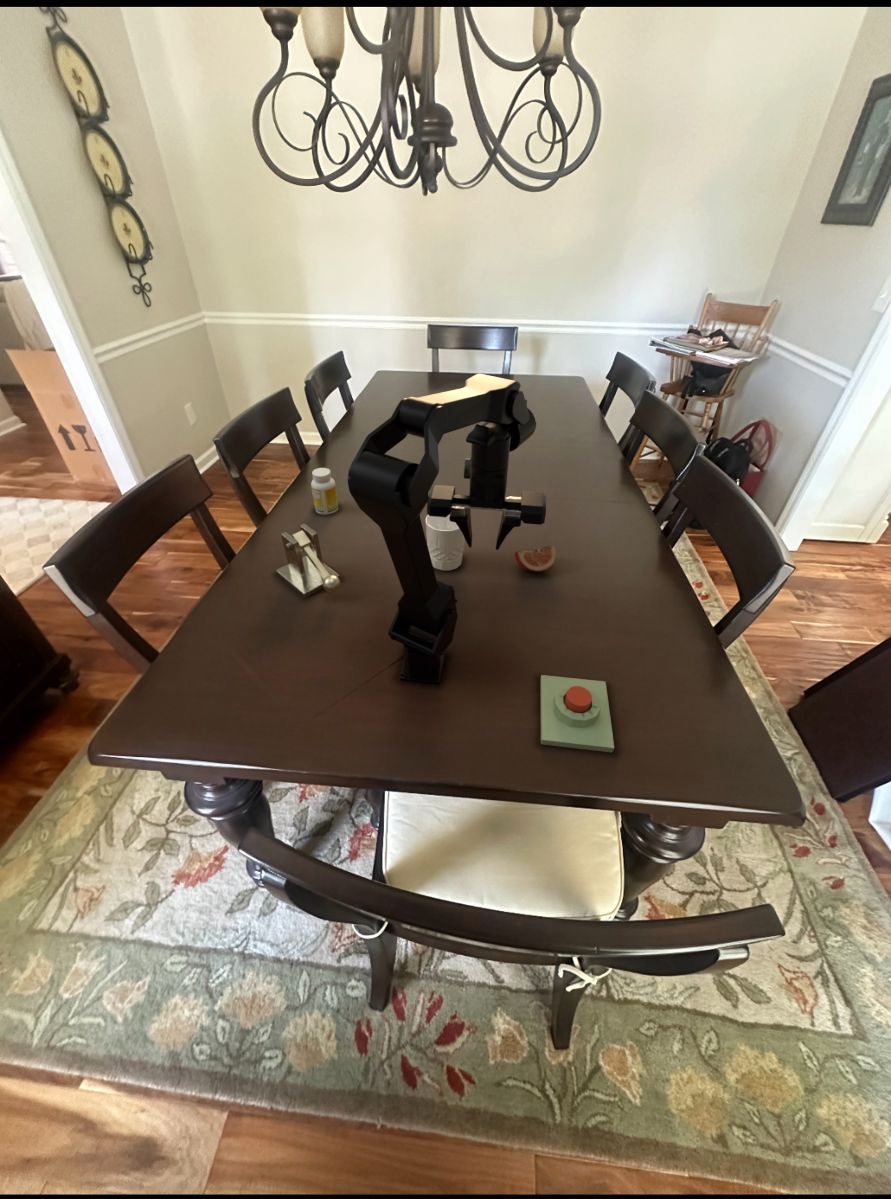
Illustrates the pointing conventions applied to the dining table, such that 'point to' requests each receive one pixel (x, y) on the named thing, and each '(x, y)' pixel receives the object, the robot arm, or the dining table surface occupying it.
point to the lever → (317, 563)
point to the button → (578, 699)
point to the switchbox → (575, 715)
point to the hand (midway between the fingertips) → (483, 547)
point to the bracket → (302, 564)
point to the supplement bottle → (324, 491)
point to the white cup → (444, 543)
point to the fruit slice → (536, 558)
